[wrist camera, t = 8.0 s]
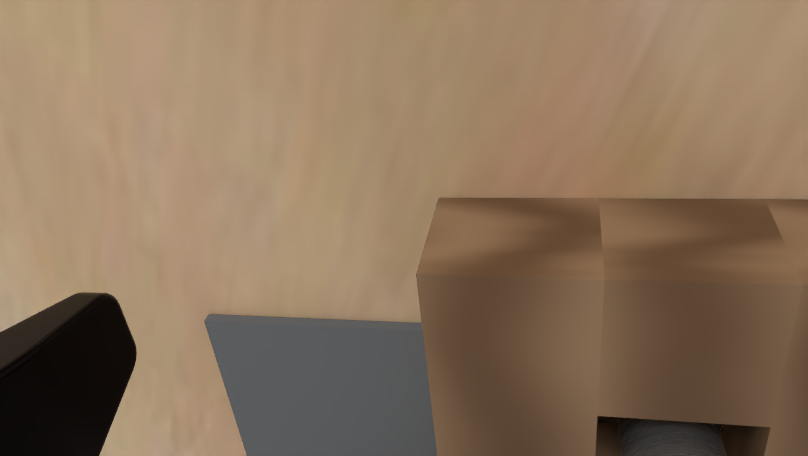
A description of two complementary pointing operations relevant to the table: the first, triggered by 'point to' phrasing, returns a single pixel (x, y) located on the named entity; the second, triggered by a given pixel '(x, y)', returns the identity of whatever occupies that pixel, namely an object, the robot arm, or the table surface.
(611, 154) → the table surface
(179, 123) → the table surface
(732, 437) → the hole block
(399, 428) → the panel
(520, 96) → the table surface
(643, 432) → the peg
